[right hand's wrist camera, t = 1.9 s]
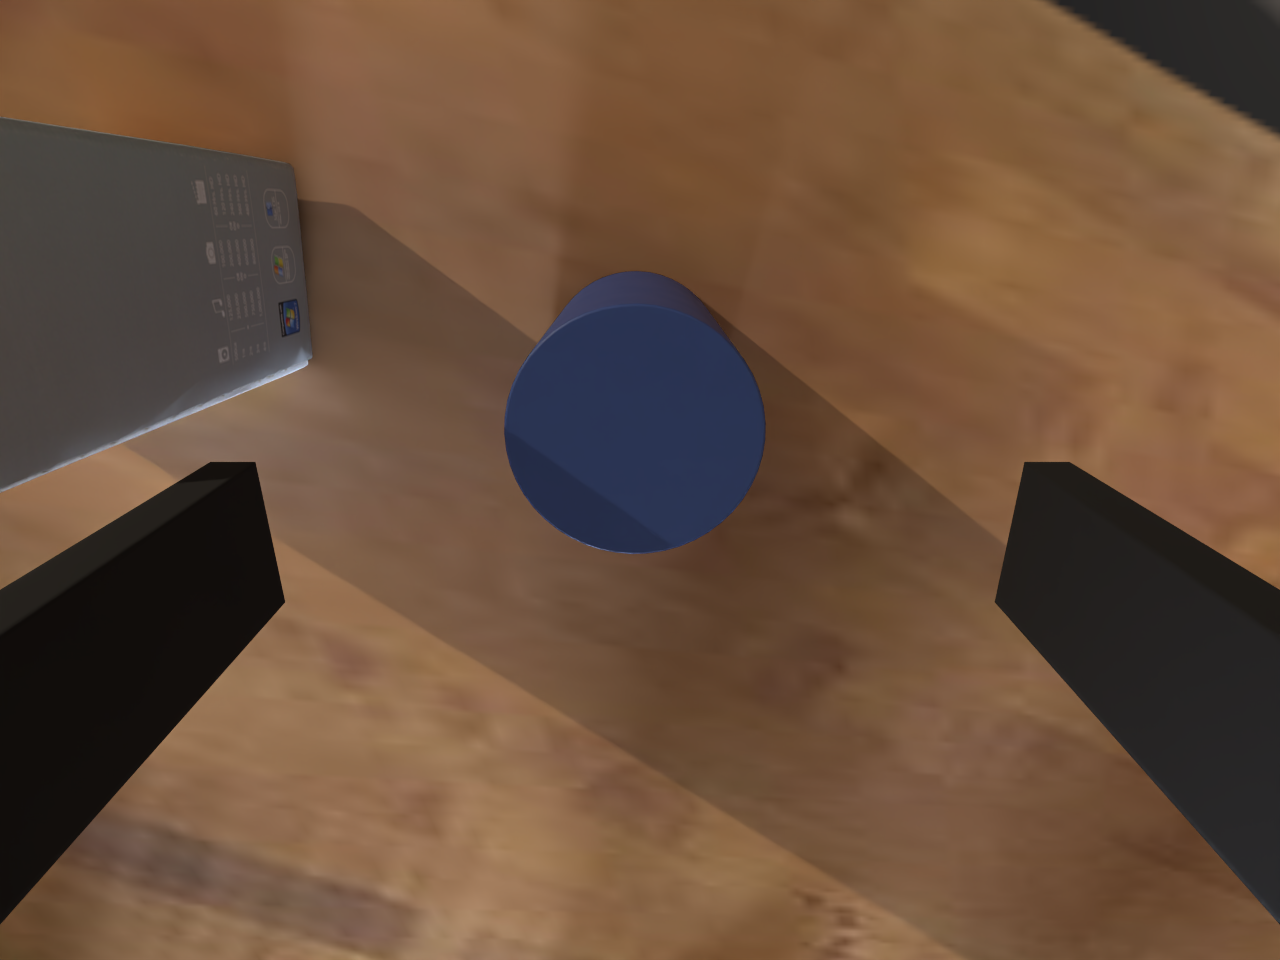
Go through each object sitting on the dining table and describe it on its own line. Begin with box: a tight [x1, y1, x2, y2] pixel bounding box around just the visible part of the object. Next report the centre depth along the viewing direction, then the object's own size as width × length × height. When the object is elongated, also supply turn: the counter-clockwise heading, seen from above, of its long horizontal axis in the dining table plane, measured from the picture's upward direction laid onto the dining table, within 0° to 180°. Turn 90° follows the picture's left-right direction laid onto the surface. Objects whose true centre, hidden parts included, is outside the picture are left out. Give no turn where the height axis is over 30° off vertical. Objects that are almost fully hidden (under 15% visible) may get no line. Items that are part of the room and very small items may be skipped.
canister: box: [504, 271, 766, 554], centre depth 24 cm, size 7×7×10 cm
